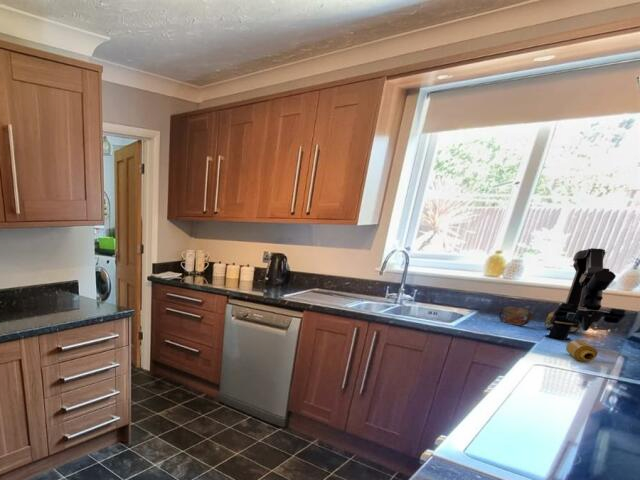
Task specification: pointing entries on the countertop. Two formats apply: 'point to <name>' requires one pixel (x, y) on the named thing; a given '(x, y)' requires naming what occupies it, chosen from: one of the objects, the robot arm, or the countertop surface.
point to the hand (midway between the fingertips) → (585, 330)
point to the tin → (515, 315)
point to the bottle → (581, 350)
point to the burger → (549, 325)
